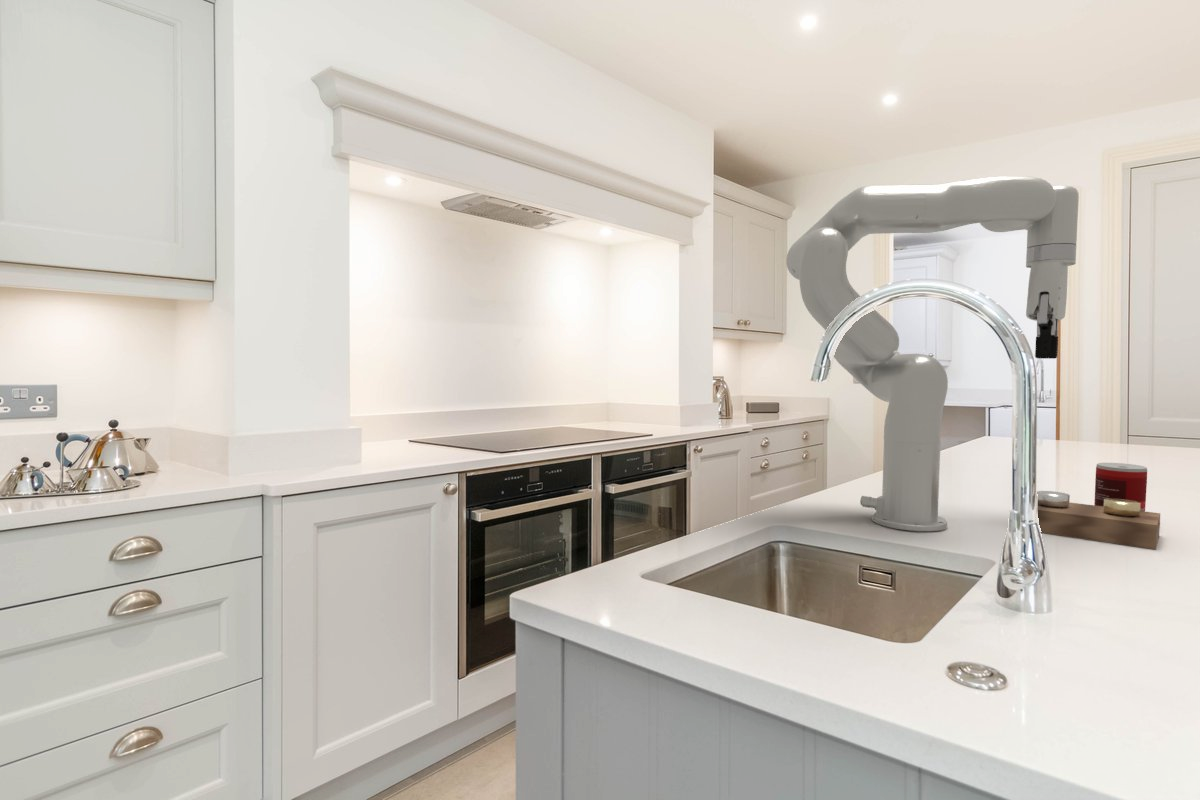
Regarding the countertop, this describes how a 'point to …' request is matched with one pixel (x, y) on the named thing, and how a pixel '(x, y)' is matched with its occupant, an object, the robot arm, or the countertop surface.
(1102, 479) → the canned food
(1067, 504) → the steel button
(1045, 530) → the button block
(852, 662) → the countertop surface
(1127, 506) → the brass button
